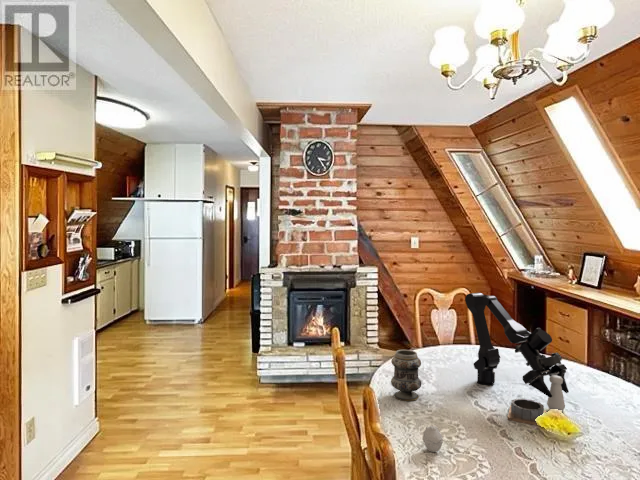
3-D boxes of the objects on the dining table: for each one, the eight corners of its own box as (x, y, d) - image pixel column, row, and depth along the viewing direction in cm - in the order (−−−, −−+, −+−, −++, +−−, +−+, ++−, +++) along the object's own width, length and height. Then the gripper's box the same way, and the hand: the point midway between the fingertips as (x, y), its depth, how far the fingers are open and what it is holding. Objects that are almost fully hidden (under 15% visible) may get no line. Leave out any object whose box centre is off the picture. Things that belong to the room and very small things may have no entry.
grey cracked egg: (439, 444, 135) (439, 422, 134) (446, 456, 128) (446, 433, 127) (419, 444, 134) (419, 422, 134) (426, 456, 127) (426, 433, 127)
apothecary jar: (424, 393, 176) (424, 350, 175) (417, 404, 165) (417, 358, 164) (395, 389, 181) (395, 346, 180) (387, 399, 170) (387, 354, 170)
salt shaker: (567, 415, 155) (567, 379, 154) (550, 414, 156) (550, 378, 155) (561, 408, 160) (561, 374, 160) (544, 407, 161) (545, 373, 161)
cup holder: (507, 419, 151) (507, 407, 151) (510, 407, 162) (510, 395, 162) (545, 427, 145) (545, 414, 145) (546, 413, 156) (546, 401, 156)
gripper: (529, 349, 157) (557, 389, 147) (562, 342, 165) (591, 380, 155) (511, 364, 164) (537, 403, 154) (543, 357, 172) (570, 394, 163)
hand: (559, 394), depth 157 cm, fingers open, 9 cm apart
